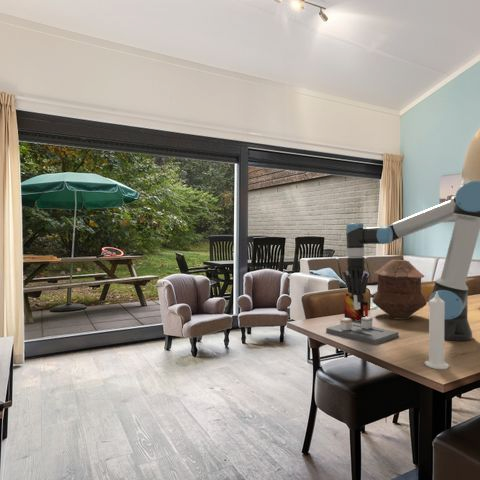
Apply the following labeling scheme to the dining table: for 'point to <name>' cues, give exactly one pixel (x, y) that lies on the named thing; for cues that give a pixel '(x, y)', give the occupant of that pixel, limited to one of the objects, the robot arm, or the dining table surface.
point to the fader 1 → (346, 324)
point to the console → (364, 333)
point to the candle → (436, 333)
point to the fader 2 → (366, 322)
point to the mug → (351, 312)
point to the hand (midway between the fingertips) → (357, 309)
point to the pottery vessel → (399, 289)
